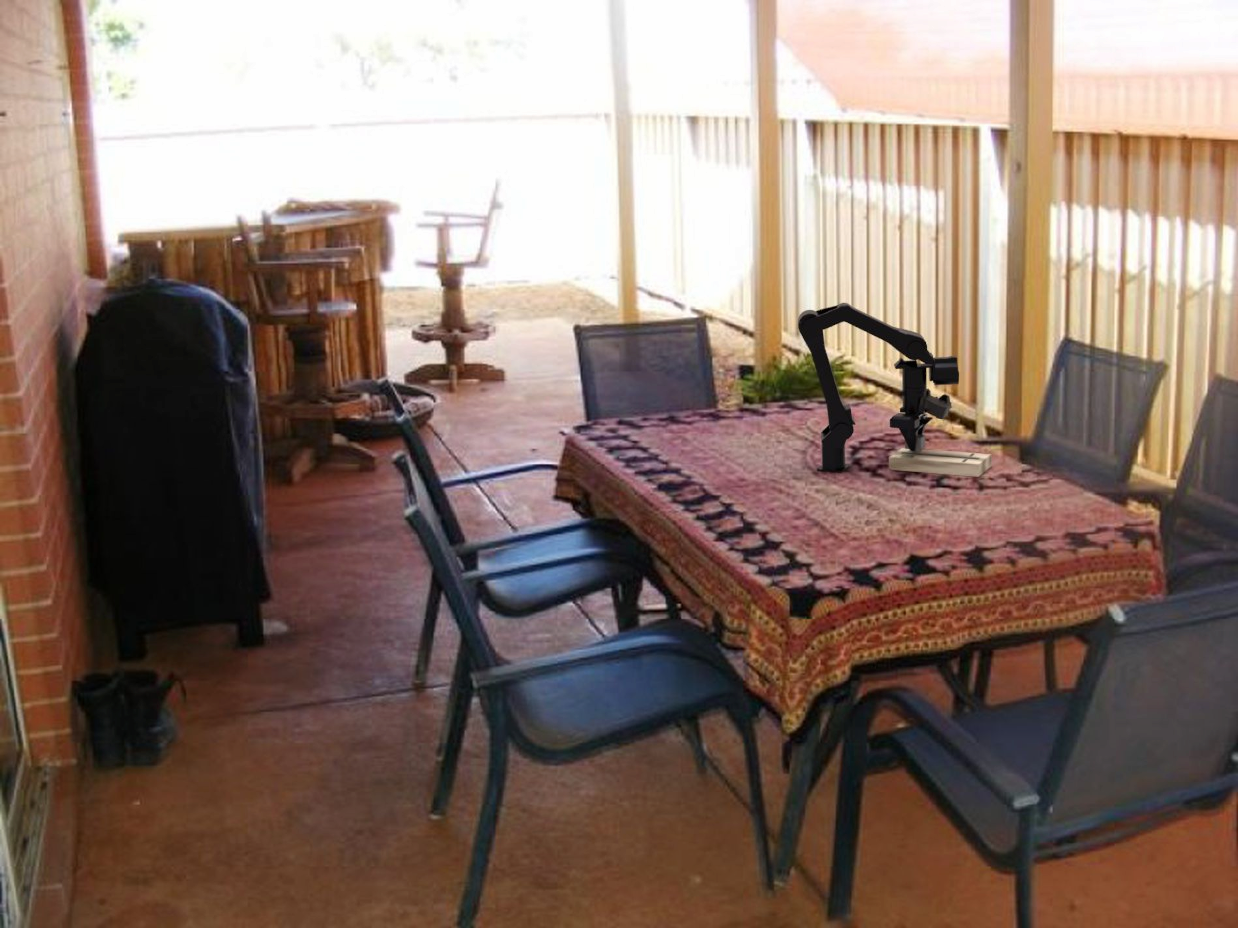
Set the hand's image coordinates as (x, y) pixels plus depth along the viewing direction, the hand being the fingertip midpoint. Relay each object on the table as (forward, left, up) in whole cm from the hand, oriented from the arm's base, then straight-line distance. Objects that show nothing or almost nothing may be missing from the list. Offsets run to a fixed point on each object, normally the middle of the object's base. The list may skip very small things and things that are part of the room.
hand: (915, 449), depth 365 cm
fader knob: (0, 0, -1) cm, 1 cm away
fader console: (0, -6, -4) cm, 7 cm away
